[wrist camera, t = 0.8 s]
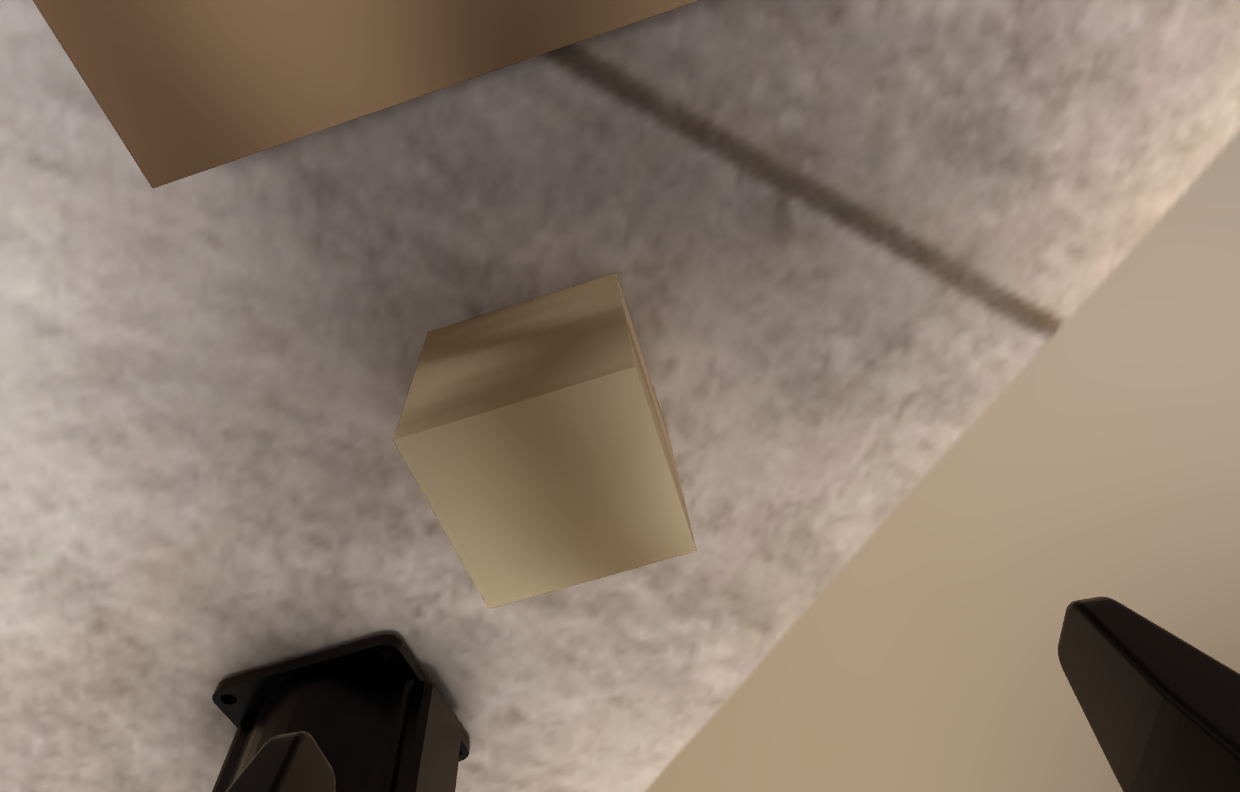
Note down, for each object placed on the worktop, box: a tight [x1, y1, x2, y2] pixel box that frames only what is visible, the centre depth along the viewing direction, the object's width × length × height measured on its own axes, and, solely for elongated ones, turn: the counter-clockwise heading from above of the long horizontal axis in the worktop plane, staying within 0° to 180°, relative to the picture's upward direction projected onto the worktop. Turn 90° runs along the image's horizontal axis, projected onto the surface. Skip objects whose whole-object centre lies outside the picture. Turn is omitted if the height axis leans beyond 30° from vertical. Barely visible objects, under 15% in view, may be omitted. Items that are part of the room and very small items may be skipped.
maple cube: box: [393, 273, 697, 609], centre depth 18 cm, size 5×5×5 cm
